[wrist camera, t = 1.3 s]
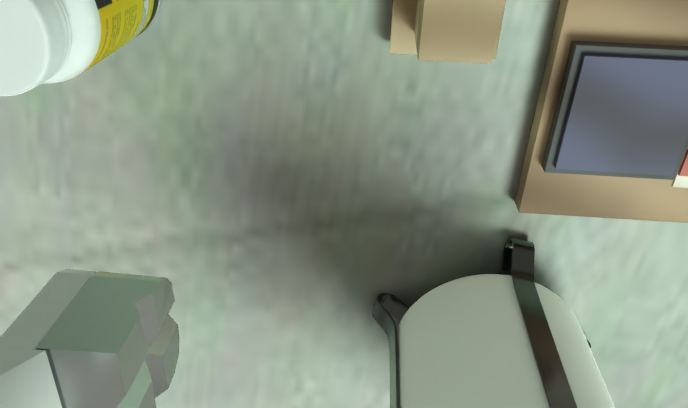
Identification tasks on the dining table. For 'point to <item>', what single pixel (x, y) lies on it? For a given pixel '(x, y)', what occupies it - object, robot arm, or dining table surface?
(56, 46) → the supplement bottle
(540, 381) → the coffee press
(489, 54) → the stamp
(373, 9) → the dining table surface
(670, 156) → the station board
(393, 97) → the dining table surface
